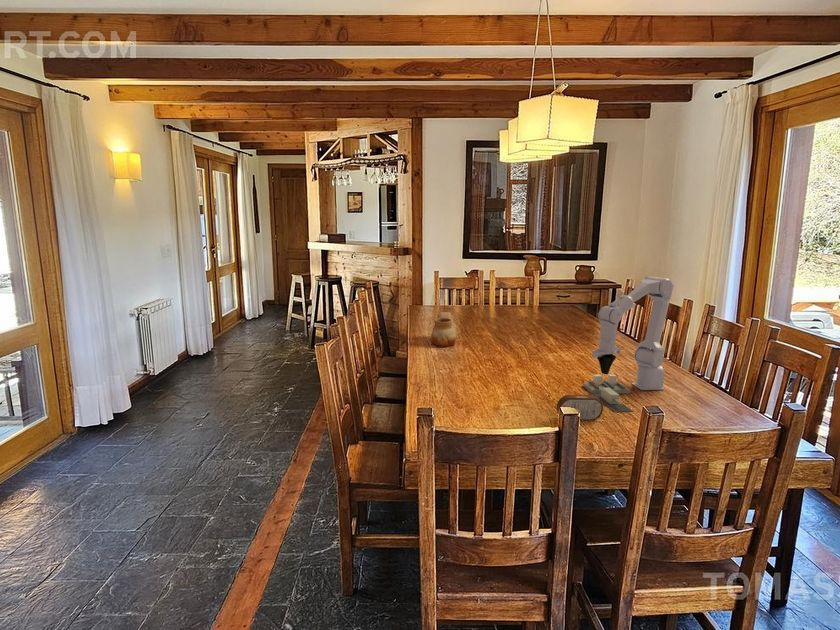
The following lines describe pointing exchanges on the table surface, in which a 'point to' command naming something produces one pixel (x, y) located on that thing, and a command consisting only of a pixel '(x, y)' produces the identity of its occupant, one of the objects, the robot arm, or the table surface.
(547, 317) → the table surface
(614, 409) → the tool mat
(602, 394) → the driver
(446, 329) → the ceramic vessel
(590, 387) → the switch panel
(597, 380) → the tab
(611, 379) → the tab
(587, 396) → the tin
